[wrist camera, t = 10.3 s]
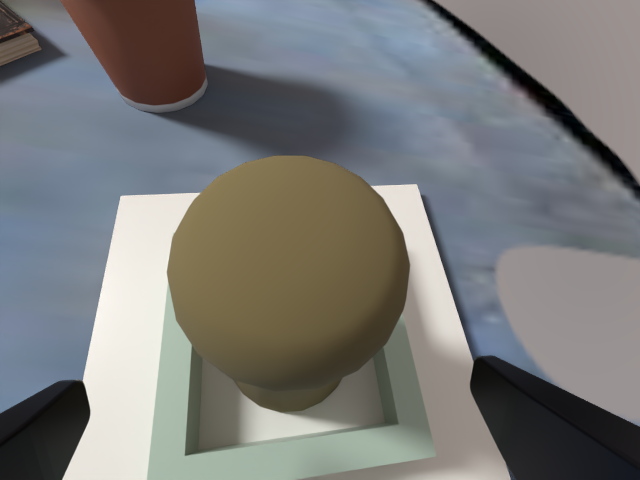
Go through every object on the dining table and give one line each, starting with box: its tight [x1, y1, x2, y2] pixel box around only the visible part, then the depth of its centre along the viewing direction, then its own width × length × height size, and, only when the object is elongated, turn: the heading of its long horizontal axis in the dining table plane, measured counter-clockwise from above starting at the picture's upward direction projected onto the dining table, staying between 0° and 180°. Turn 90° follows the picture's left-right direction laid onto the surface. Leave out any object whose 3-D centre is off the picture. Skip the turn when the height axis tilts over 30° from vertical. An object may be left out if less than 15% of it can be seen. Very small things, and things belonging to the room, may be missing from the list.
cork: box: [167, 156, 410, 413], centre depth 11 cm, size 6×6×11 cm
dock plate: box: [63, 184, 511, 480], centre depth 15 cm, size 18×18×3 cm
